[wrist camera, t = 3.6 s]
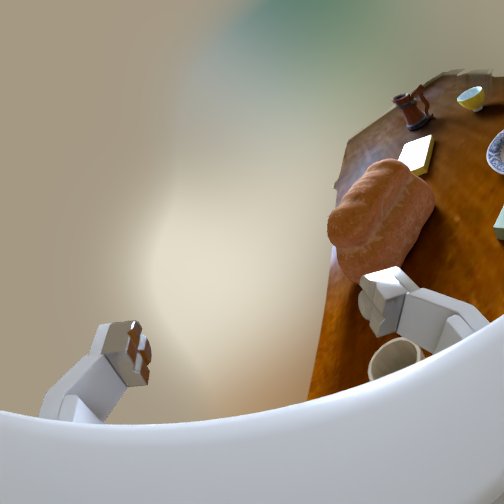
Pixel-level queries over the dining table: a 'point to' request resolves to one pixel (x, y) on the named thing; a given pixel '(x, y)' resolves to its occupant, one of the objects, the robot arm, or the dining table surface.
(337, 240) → the bread
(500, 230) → the scale
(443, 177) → the dining table surface
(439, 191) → the dining table surface
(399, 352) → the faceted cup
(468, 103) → the bowl
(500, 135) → the ceramic plate
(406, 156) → the pale yellow flat slab
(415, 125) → the mug
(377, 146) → the dining table surface
